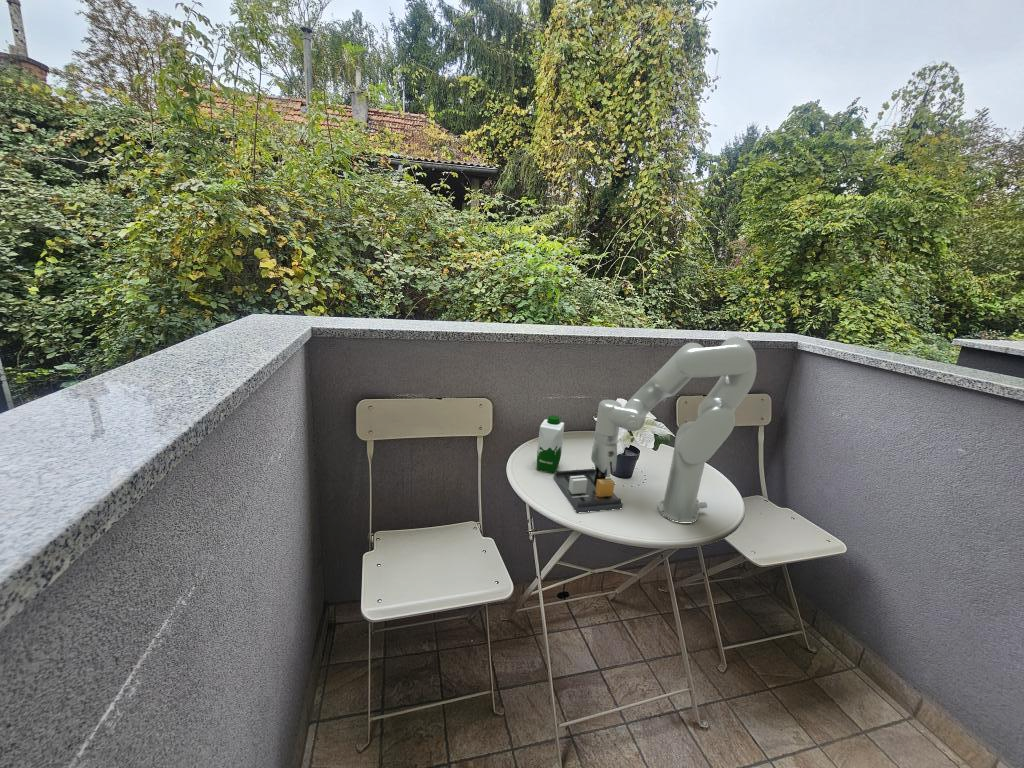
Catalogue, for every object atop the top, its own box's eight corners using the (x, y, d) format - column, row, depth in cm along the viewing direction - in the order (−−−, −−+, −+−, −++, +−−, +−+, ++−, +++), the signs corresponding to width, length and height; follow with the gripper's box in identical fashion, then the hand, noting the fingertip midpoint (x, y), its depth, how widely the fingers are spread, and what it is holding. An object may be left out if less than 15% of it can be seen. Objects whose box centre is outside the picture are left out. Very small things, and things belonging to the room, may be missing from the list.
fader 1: (582, 488, 151) (583, 474, 150) (585, 493, 149) (587, 479, 147) (568, 489, 150) (570, 475, 149) (571, 494, 147) (573, 480, 146)
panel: (593, 475, 165) (594, 467, 164) (622, 508, 145) (623, 500, 144) (553, 478, 161) (554, 470, 160) (577, 513, 141) (578, 504, 140)
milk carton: (561, 465, 171) (566, 417, 165) (556, 475, 163) (562, 425, 157) (539, 460, 174) (544, 413, 168) (533, 470, 166) (538, 421, 160)
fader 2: (608, 491, 151) (610, 477, 149) (612, 495, 148) (614, 482, 147) (595, 492, 150) (597, 478, 148) (599, 497, 147) (601, 483, 145)
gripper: (627, 446, 141) (619, 496, 146) (606, 427, 155) (599, 473, 160) (605, 447, 139) (598, 498, 145) (586, 428, 153) (580, 475, 158)
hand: (599, 485), depth 152 cm, fingers closed
